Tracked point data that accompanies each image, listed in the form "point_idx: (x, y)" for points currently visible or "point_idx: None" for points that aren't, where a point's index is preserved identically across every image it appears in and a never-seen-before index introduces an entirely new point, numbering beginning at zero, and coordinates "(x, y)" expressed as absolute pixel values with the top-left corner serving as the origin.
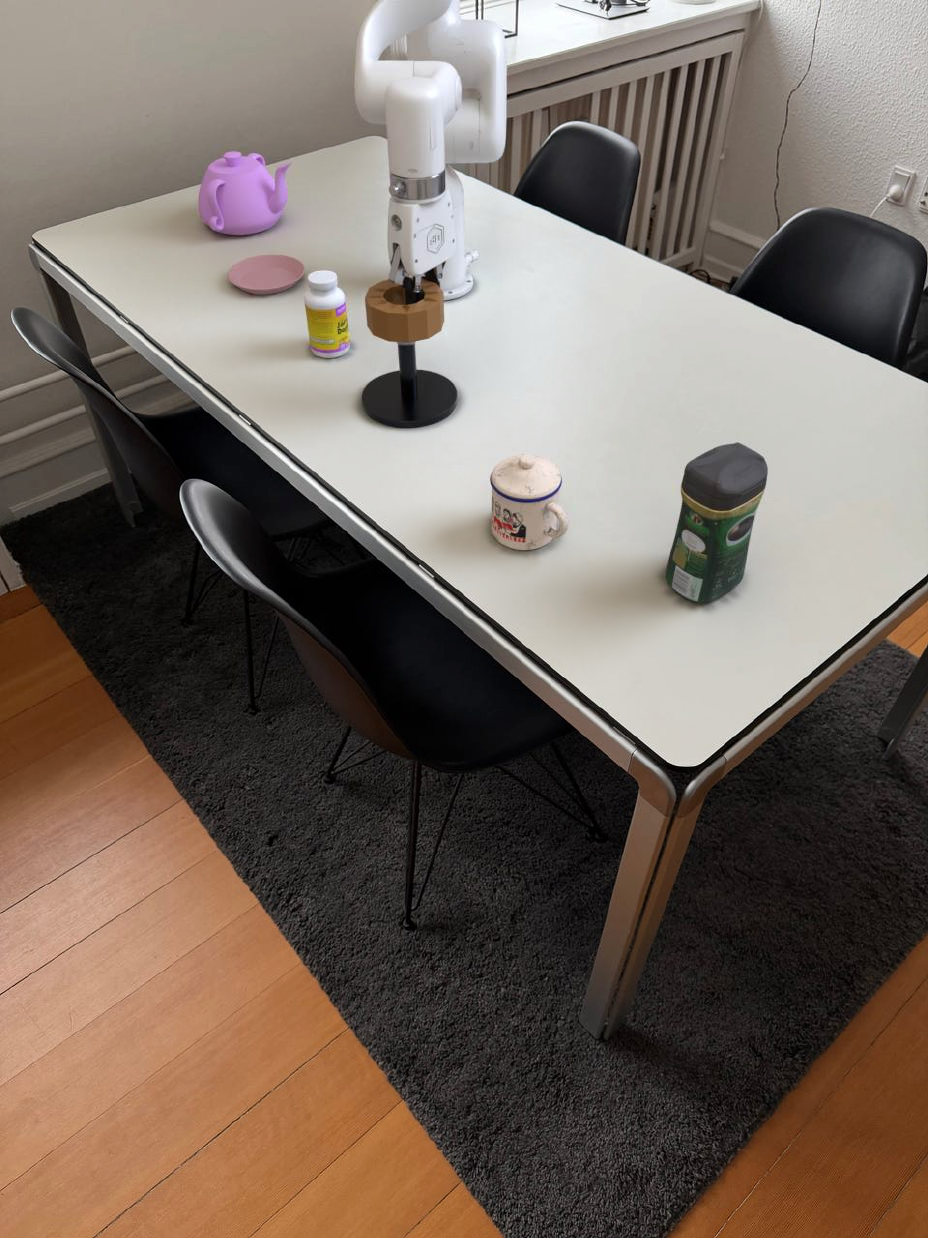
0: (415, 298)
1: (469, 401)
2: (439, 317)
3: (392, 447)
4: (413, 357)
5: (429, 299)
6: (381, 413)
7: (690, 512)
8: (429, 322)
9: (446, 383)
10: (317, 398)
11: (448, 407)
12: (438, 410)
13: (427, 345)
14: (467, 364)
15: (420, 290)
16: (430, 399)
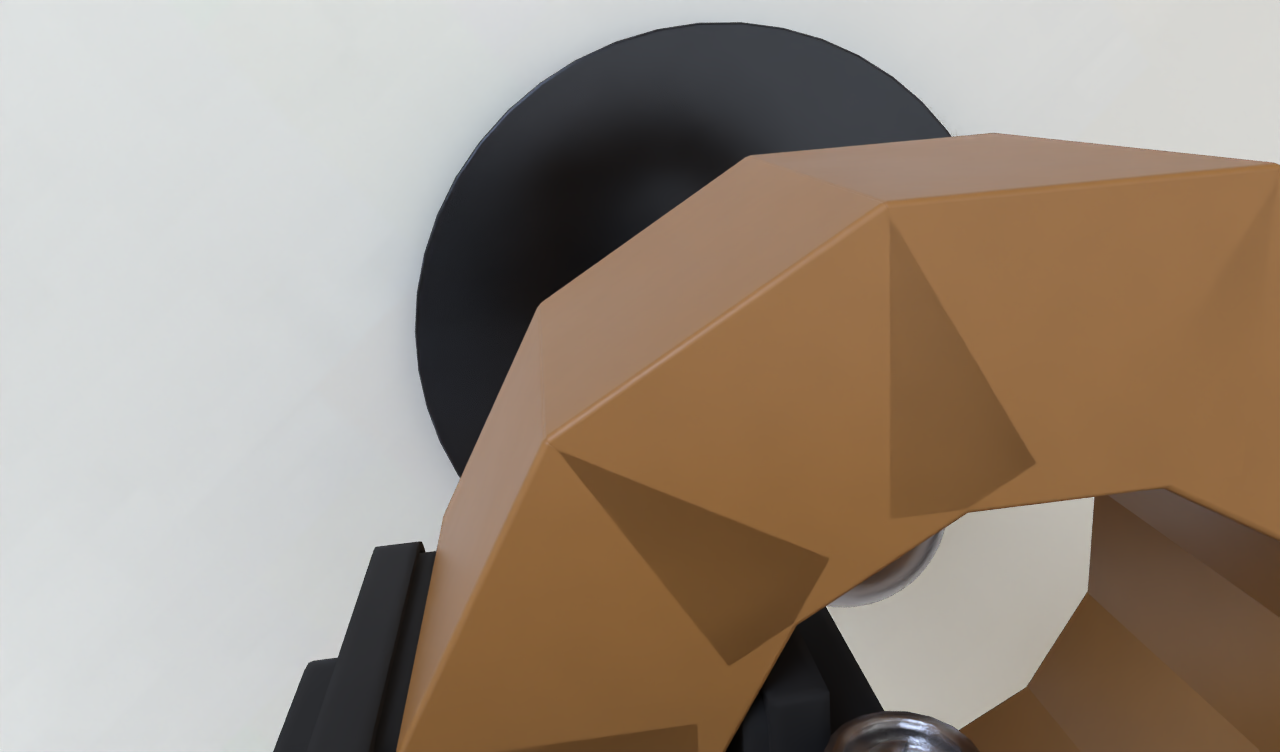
0: (850, 692)
1: (456, 44)
2: (830, 167)
3: (1121, 51)
4: None
5: (934, 419)
6: None
7: None
8: (1066, 149)
9: (465, 260)
10: (994, 677)
11: (666, 39)
12: (734, 66)
13: (203, 687)
14: (153, 370)
15: (781, 750)
16: (673, 201)
